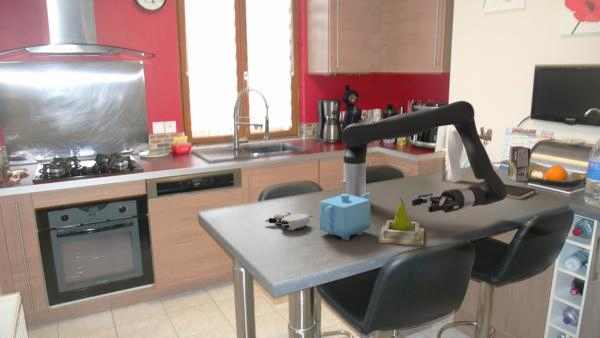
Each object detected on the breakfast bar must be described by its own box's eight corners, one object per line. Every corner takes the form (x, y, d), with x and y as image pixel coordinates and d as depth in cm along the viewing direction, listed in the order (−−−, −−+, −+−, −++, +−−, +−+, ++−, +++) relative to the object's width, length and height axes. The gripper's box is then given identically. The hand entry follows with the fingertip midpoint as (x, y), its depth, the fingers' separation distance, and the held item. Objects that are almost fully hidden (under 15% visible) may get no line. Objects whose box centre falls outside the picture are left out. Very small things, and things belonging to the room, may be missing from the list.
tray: (378, 242, 145) (378, 231, 145) (382, 227, 158) (382, 218, 158) (423, 245, 141) (423, 235, 141) (423, 230, 155) (424, 221, 154)
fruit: (411, 237, 146) (412, 201, 144) (391, 235, 148) (392, 200, 145) (410, 230, 152) (411, 196, 150) (392, 229, 154) (392, 195, 151)
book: (519, 200, 189) (520, 195, 189) (468, 191, 206) (468, 186, 206) (535, 193, 200) (535, 188, 199) (484, 185, 216) (485, 180, 216)
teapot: (338, 245, 144) (338, 203, 141) (314, 236, 152) (313, 197, 149) (381, 228, 158) (382, 190, 155) (357, 221, 166) (357, 185, 163)
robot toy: (263, 228, 164) (291, 235, 153) (262, 216, 163) (290, 222, 152) (287, 220, 172) (316, 226, 162) (286, 208, 171) (315, 213, 161)
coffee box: (528, 181, 220) (531, 148, 216) (515, 181, 220) (517, 149, 217) (519, 177, 229) (522, 145, 225) (507, 177, 229) (509, 146, 226)
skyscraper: (449, 178, 230) (452, 124, 224) (464, 181, 224) (468, 125, 218) (441, 181, 225) (443, 125, 219) (456, 184, 219) (459, 126, 213)
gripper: (443, 184, 163) (407, 190, 156) (473, 193, 150) (435, 200, 144) (442, 204, 165) (406, 211, 158) (472, 214, 152) (434, 222, 145)
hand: (420, 205), depth 151 cm, fingers open, 8 cm apart
